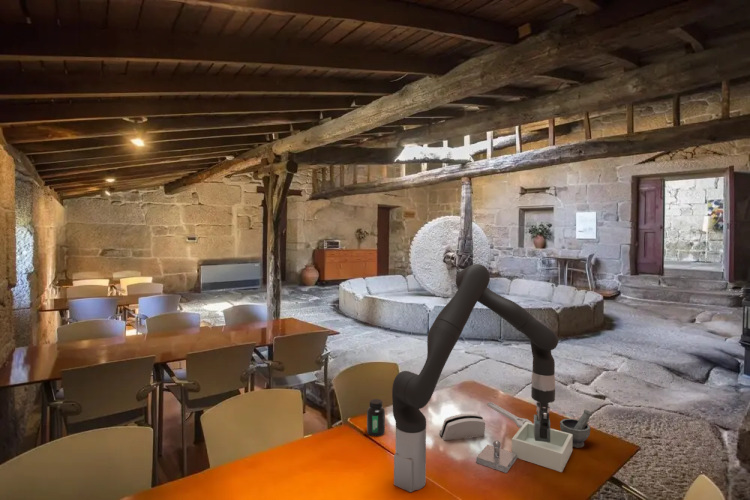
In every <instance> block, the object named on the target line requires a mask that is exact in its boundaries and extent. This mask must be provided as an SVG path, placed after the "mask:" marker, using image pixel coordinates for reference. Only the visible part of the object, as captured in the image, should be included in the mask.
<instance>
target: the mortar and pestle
mask: <svg viewBox="0 0 750 500" xmlns="http://www.w3.org/2000/svg"><path fill="white" fill-rule="evenodd" d="M592 415H593V412H591V411H590V410H588V409H584V410H583V413H582V415H581V416H580V418H578V419H575V418H562V419H561V420H560V421H559V427H560V428H559V429H560V431H562V432H566V433H570V434H573V446H572V448H573V447H574V448H576V449H577V448H584V446H585V441H586V440H587V439H588V438H589V436H590V434H591V427H590V425H589V423H588V422H589V420H590V419H591V418H590V417H592Z"/></svg>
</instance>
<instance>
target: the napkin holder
mask: <svg viewBox="0 0 750 500" xmlns="http://www.w3.org/2000/svg"><path fill="white" fill-rule="evenodd" d="M485 431H486V422H485V420H484V419H483V416H482V415H481V414H476V413H460V414H454V415H451V416H449V417H446V418H445V419H444V421H443V424H442V426H441V429H440V430H439V433H438V434H440V436H442V438H441V439H442V440H443V441H449V440H459V439H469V438H476V437H485V434H486V432H485Z"/></svg>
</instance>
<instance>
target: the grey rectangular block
mask: <svg viewBox="0 0 750 500" xmlns="http://www.w3.org/2000/svg"><path fill="white" fill-rule="evenodd" d="M540 417H541V416H540ZM533 424H534V438H535V441H542V442H550V428H551V420H550V418H549V428H548V429H547V438H546V439H543V438H540V426H539V425H540V420H539V419H538V415H537V414H535V413H534V414H533ZM542 424H546V423H542Z"/></svg>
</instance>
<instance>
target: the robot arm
mask: <svg viewBox="0 0 750 500" xmlns="http://www.w3.org/2000/svg"><path fill="white" fill-rule="evenodd" d="M490 275H491V274H490V272H489V270H488V268H487V267H486V266H485V265H483V264H480V263H479V264H478V263H476V264H471V265H469V266H467V267H465V268H464V269H461V271H459V272H458V273H457V274H456V277H455V284H456V287H457V291H456V293H455V294H454V295H453V296H452V298H451V299H450V300H449V302H448V303H447V304H446V305H445V306H444V307H443V308H442V310H441V311H440V312H439V313H438V314H437V316H436V318H435V319H434V321H433V323H432V325H431V327H430V329H429V330H428V333H427V339H426V344H427V345H426V346H427V348H426V349H427V350H426V351H427V354H426V355H427V356H426V359H425V363H424V365H423V366H422V369H421V371H420V372H419V374H417V373H414V372H412V371H409V370H402V371H400V372H399V373H397V374H396V376H395V377H394V379H393V383H392V387H391V390H392V391H391V392H392V394H391V395H392V397H391V398H392V413H393V418H394V421H395V453H394V455H393V457H394V458H393V485H394V486H396V487H397V488H400V489H402V490H405V491H406V492H409V493H413V492H414V491H418V490H421V489H422V488H424V487H425V486H426V478H427V474H426V473H427V472H426V471H427V468H426V467H427V465H426V464H427V419H426V416H425V415H424V413H423V412H422V411H421V409H423V408H424V407H426V405H428V403H429V402H430V400H431V399H432V396H433V394H434V392H435V389H436V387H437V384H438V382H439V380H440V377H441V374H442V371H443V370H444V367H445V366H446V364H447V361H448V359H449V357H450V355H451V353H452V351H453V350H454V347H456V344H457V342H458V340H459V339H460V337H461V335H462V332H463V330H464V328H465V326H466V324H467V323H468V321H469V319H470V316H471V314H472V312H473V310H474V309H475V306H476V305H477V303H479V304H481V305H483V306H484V307H486V308H487V309H489V310H491V311H492V312H493V313H495V314H496V315H498V316H499V317H501V319H503V320H505V321H506V322H507V323H508V324H509V325H510V326H512V327H513V328H514V329H516V330H517V331H519V332H520V333H522V334H523V335H525V336H526V337H527V338H528V339H529V340H530V348H531V355H532V373H531V385H530V386H531V388H530V389H531V393H530V394H531V395H530V396H531V398H532V399H533V401H535V402H536V403H535V405H536V406H535V407H536V415H538V419H539V420H540V425H539V426H540V438H543V439H546V438H547V429H548V428H549V419H550V411H551V408H550V405H549V404H550V403H551V404H552V403H553V402H555V400H556V377H555V376H556V375H555V374H556V373H555V369H556V368H555V366H556V365H555V363H556V361H555V358H554V357H553V355H552V351H554V349H556V348H557V347H558V345H559V338H558V335H557V333H555V332H554V331H553V330H552V329H550V328H549V327H547V326H546V325H545V324H543V323H542V322H540V321H539V320H537V318H535V317H534V316H533V315H532V314H531V313H530V312H529V311H527V310H526V309H525V308H524V307H522V306H521V305H520V304H519V303H517V302H515V301H513V300H511V299H509V298H507V297H504V296H502V295H500V294H498V293H496V292H494V291H493V290H491V289H490V288H488V287H489V283H490V282H491V281H490V280H491V276H490ZM540 416H541V417H540ZM542 423H546V424H542Z"/></svg>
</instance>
